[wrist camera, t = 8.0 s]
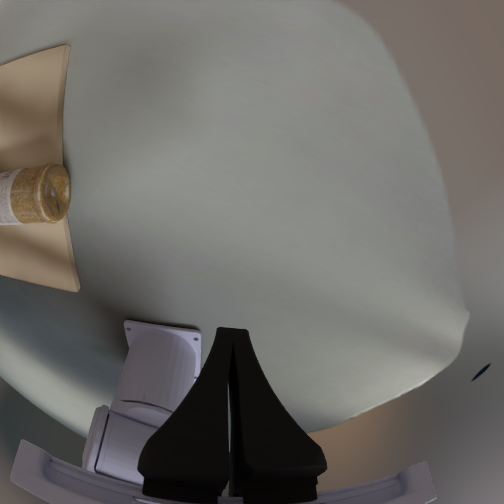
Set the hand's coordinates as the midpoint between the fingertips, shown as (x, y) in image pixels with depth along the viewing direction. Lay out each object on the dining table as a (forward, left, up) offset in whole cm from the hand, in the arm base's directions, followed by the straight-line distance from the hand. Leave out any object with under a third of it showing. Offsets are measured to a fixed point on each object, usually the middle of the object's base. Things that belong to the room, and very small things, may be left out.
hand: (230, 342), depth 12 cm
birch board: (+4, +24, -10) cm, 26 cm away
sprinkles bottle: (+4, +13, -7) cm, 15 cm away
